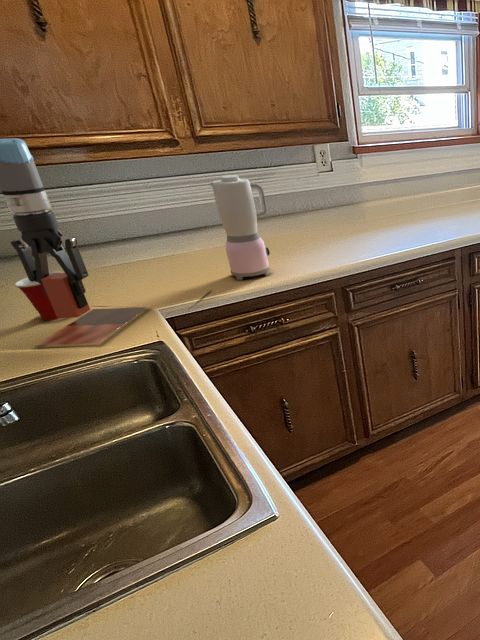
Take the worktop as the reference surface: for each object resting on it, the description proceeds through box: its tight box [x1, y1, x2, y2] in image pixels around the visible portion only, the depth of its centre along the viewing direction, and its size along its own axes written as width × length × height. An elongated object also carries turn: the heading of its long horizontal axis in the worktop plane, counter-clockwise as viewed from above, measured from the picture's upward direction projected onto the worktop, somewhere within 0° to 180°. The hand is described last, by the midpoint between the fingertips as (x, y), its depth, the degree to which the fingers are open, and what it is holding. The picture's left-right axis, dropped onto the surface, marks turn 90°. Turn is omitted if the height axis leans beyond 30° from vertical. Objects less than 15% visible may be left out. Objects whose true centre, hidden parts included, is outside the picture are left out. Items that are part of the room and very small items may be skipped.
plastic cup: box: [14, 271, 64, 321], centre depth 142 cm, size 11×11×12 cm
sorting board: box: [35, 306, 148, 349], centre depth 138 cm, size 15×24×1 cm, turn 4°
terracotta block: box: [41, 272, 91, 319], centre depth 127 cm, size 5×5×10 cm
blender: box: [208, 174, 271, 281], centre depth 170 cm, size 16×12×32 cm
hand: (71, 306), depth 129 cm, fingers closed on terracotta block, 5 cm apart
